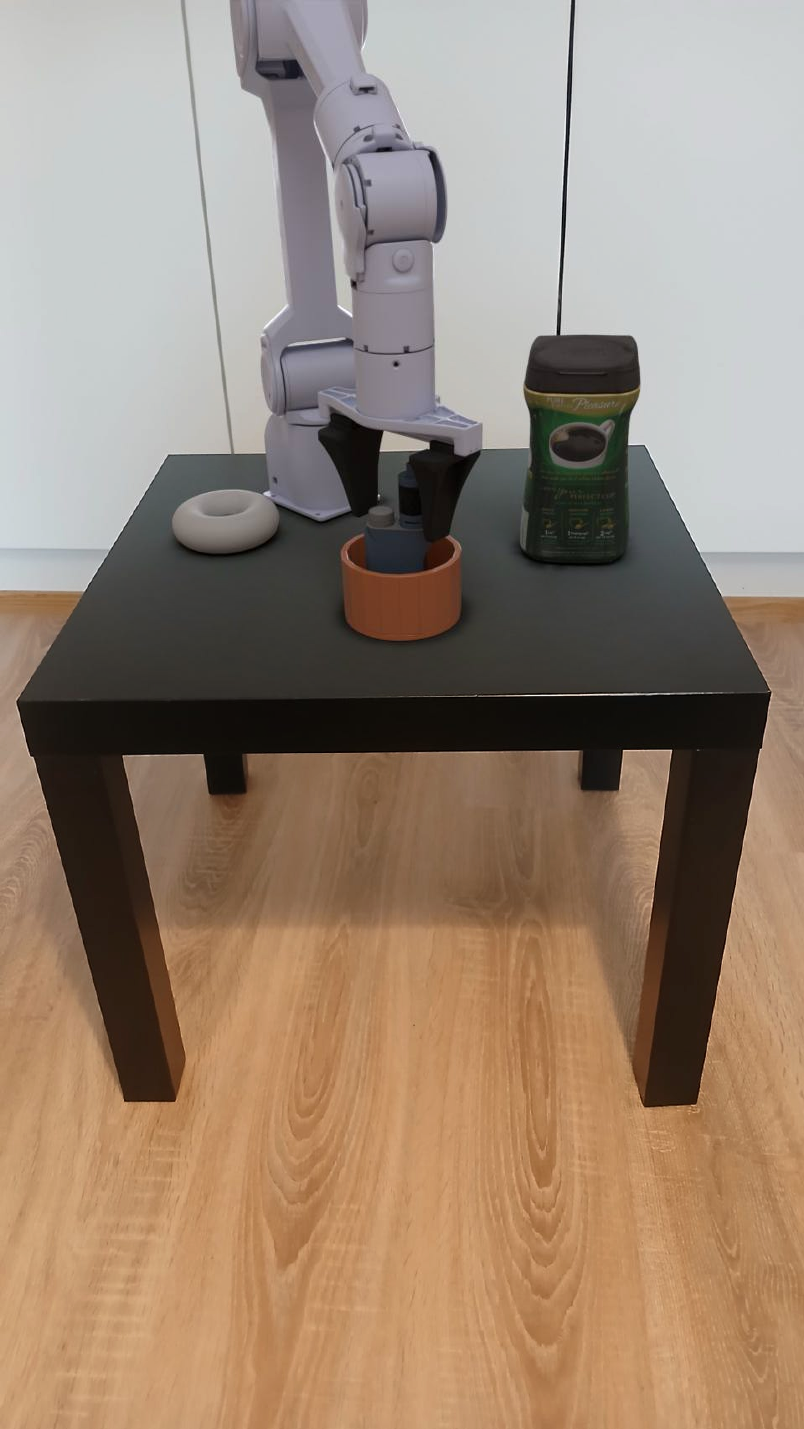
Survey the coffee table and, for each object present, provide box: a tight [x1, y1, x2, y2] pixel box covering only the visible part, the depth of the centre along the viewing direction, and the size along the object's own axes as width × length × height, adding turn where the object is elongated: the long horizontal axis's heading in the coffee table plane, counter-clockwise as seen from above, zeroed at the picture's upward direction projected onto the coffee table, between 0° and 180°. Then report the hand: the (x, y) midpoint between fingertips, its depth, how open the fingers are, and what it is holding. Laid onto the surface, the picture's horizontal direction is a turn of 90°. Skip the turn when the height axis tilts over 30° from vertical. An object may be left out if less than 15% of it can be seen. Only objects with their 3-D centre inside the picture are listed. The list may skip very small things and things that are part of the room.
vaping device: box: [363, 461, 431, 574], centre depth 82 cm, size 3×5×12 cm, turn 80°
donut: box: [171, 489, 281, 555], centre depth 98 cm, size 10×4×10 cm
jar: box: [340, 532, 463, 642], centre depth 84 cm, size 9×9×6 cm
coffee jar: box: [519, 334, 642, 564], centre depth 90 cm, size 10×8×19 cm
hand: (400, 525), depth 81 cm, fingers open, 7 cm apart
